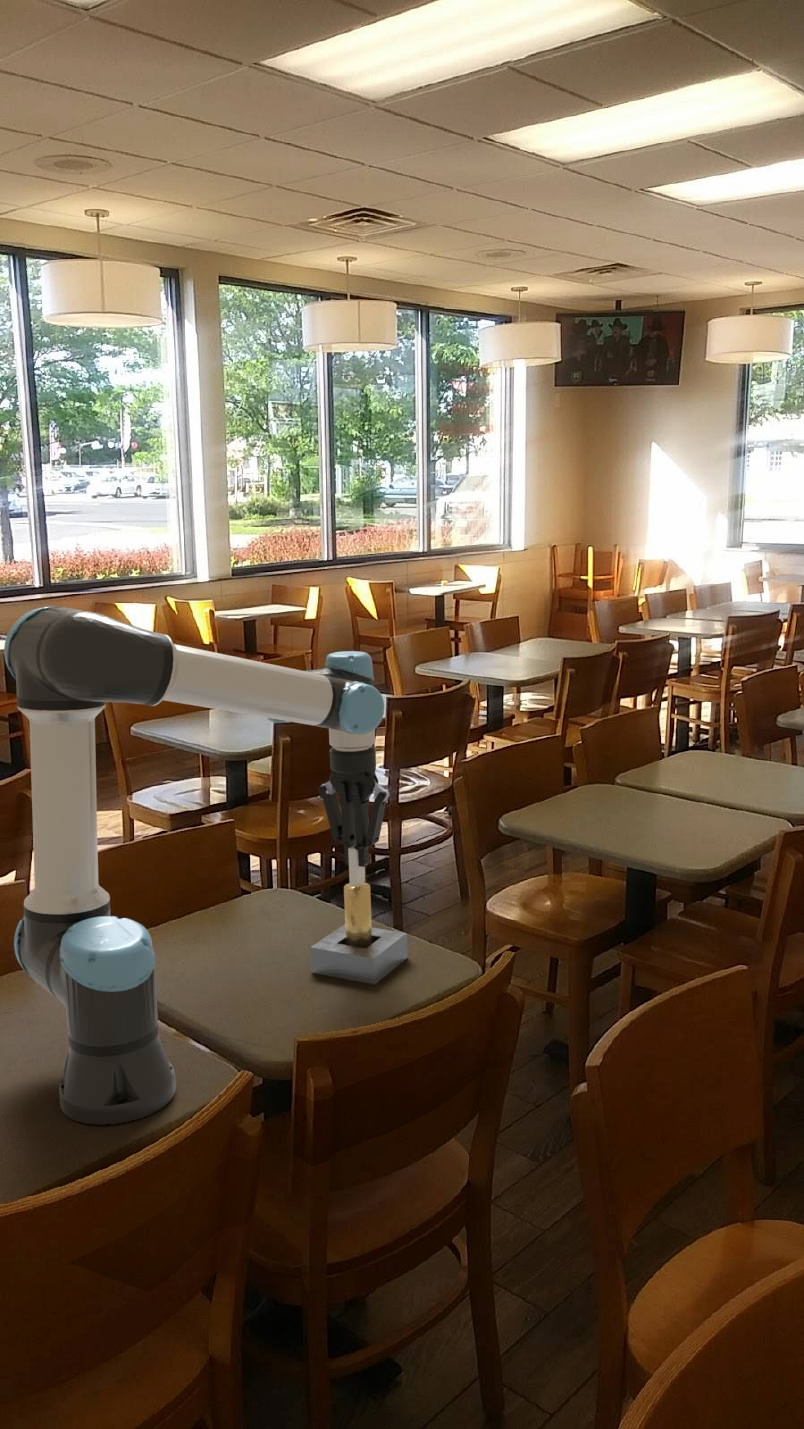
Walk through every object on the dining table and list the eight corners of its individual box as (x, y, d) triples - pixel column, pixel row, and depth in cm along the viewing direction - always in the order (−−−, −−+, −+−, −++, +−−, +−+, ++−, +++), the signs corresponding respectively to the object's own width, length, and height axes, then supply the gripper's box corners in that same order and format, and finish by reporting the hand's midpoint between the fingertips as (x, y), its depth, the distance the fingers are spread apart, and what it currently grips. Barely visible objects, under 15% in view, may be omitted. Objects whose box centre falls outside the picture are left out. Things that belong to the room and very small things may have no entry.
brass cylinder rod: (365, 971, 192) (362, 892, 189) (342, 967, 194) (339, 888, 191) (377, 962, 196) (374, 884, 193) (354, 958, 198) (352, 880, 195)
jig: (374, 984, 187) (373, 958, 186) (311, 972, 192) (310, 947, 191) (407, 957, 197) (406, 933, 196) (346, 947, 202) (345, 923, 202)
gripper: (398, 744, 188) (402, 881, 192) (329, 738, 194) (334, 872, 198) (376, 754, 181) (381, 896, 186) (306, 747, 187) (312, 885, 192)
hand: (357, 883), depth 192 cm, fingers closed
